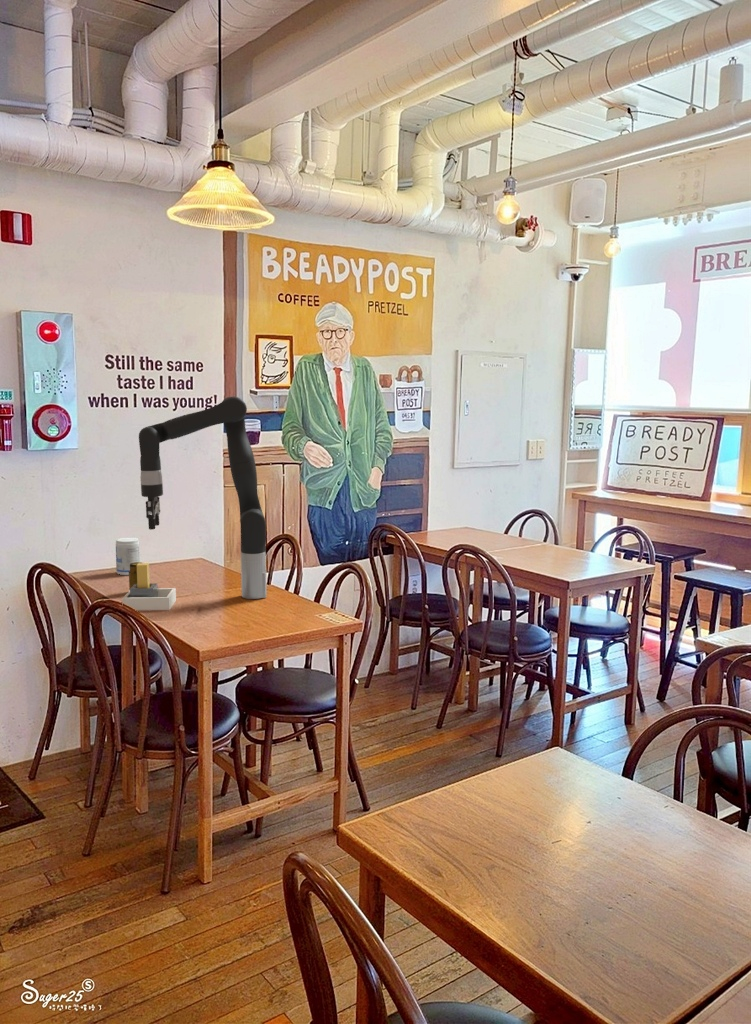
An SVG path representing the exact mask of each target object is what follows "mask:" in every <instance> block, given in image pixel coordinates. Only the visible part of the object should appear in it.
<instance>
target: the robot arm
mask: <svg viewBox="0 0 751 1024" xmlns="http://www.w3.org/2000/svg"><path fill="white" fill-rule="evenodd" d="M246 404H247V403H246V402H245V401H244V400H243V399H242V398H241V397H238V396H228V397H225V398H224V399H223V400H222V401H221V402H220V403H218V404H216V405H214V406H211V407H209V408H206V409H203V410H199V411H195V412H190V413H187V414H184V415H180V416H176V417H174V418H170V419H167V420H165V421H164V422H160V423H157V424H151V425H149V426H145V427H143V428H141V429H140V431H139V433H138V445H139V450H140V451H139V452H140V461H139V463H140V465H139V466H140V491H141V492H140V493H141V494H140V495H141V497H144V498H147V500H146V501H145V511H146V512H145V513H146V516H145V517H146V519H147V520H148V530H151V531H152V530H155V529H156V527H157V526H160V513H161V505H160V503H161V502H160V497H162V496H163V495H164V486H163V485H164V484H163V474H162V473H163V472H162V466H161V465H162V464H161V463H162V461H161V456H160V443H164V442H166V441H169V440H176V439H179V438H181V437H185V436H187V435H192V434H193V433H196V432H198V431H201V430H204V429H206V428H210V427H213V426H216V425H221V424H223V427H224V430H225V434H226V440H227V441H226V442H227V443H226V444H227V453H228V462H229V466H230V467H229V468H230V474H231V479H232V481H233V485H234V488H235V491H236V493H237V497H238V504H239V506H238V507H239V523H240V573H241V574H240V576H241V577H240V579H241V598H243V599H246V600H255V599H256V600H258V599H265V598H267V592H268V591H267V590H268V589H267V584H268V583H267V566H266V565H267V554H266V553H267V552H266V551H267V548H266V547H267V533H266V532H267V525H266V524H267V523H266V517H265V516H264V513H263V510H262V506H261V503H260V499H259V495H258V493H259V492H258V475H257V465H256V460H255V457H254V451H253V449H252V446H251V443H250V440H249V438H248V434H247V429H246V420H245V418H246V417H245V416H246V414H247V411H248V408H247V405H246Z"/></svg>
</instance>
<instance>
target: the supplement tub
mask: <svg viewBox="0 0 751 1024" xmlns="http://www.w3.org/2000/svg"><path fill="white" fill-rule="evenodd" d="M135 562H141V561H140V540H139V538H137V537H121V538H120V537H119V538H116V539H115V566H116V567H115V568H116V569H115V570H116V574H117V575H119V574H120V576H129V571H130V564H131V563H135Z"/></svg>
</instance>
